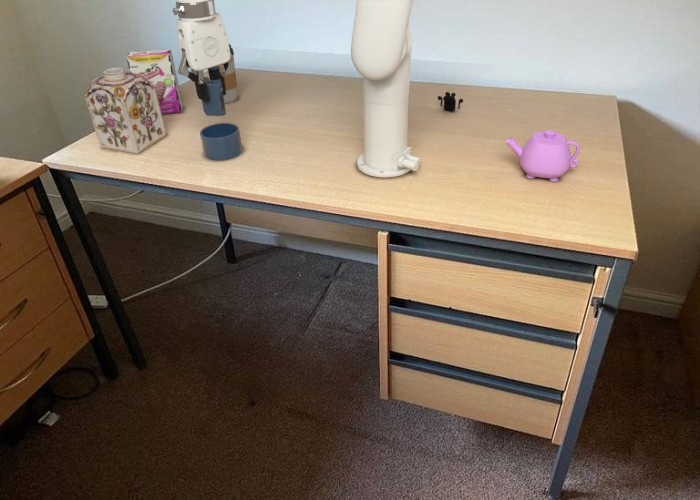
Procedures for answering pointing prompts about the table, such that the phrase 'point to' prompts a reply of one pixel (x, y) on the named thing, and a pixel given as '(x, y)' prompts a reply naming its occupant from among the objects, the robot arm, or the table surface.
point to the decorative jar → (125, 111)
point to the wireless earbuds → (449, 101)
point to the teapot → (545, 154)
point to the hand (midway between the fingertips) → (212, 96)
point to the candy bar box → (159, 76)
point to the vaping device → (214, 94)
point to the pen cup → (221, 141)
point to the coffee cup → (230, 81)
